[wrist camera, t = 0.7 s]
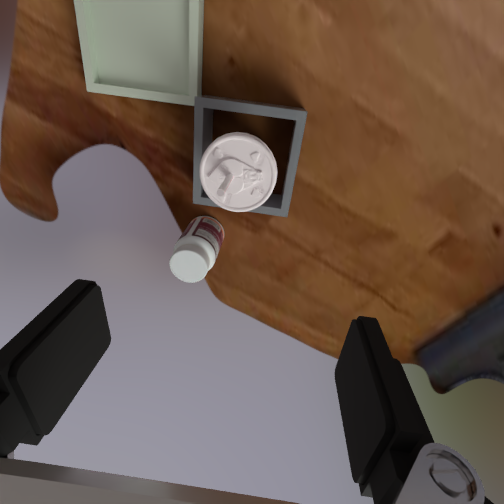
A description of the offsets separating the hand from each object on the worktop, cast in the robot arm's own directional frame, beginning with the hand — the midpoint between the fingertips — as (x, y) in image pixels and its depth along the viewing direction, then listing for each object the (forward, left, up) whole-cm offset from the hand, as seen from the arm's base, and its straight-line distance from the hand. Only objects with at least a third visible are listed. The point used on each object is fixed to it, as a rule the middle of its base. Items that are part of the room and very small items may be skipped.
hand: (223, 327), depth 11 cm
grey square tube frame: (-1, -2, -25) cm, 25 cm away
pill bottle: (+9, -6, -25) cm, 28 cm away
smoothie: (-1, -2, -25) cm, 25 cm away
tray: (-12, -13, -25) cm, 31 cm away
